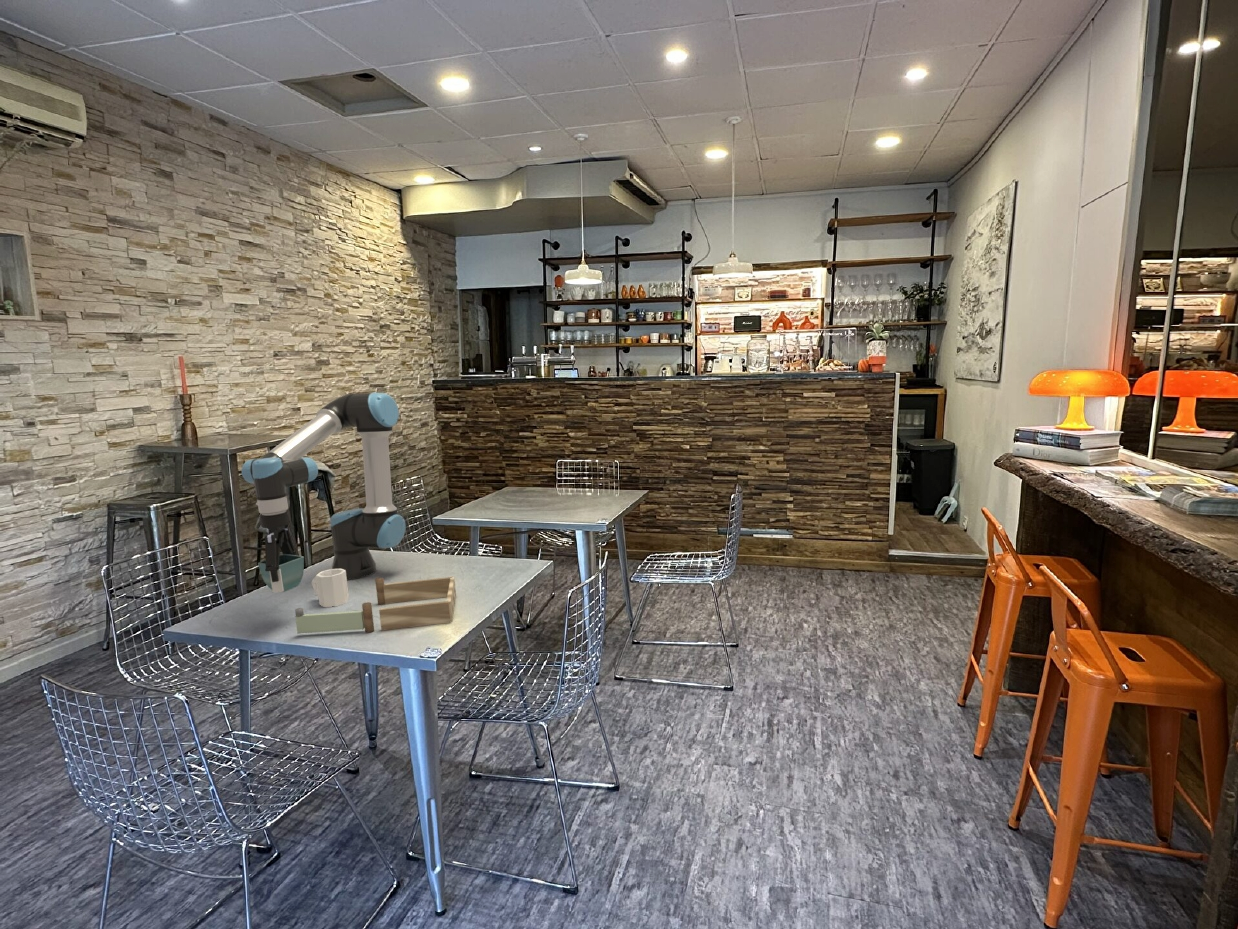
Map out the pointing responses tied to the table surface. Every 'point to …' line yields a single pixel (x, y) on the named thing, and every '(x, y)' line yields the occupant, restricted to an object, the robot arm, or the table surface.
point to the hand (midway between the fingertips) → (284, 584)
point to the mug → (331, 587)
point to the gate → (328, 621)
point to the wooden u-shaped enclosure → (412, 613)
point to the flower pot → (286, 571)
